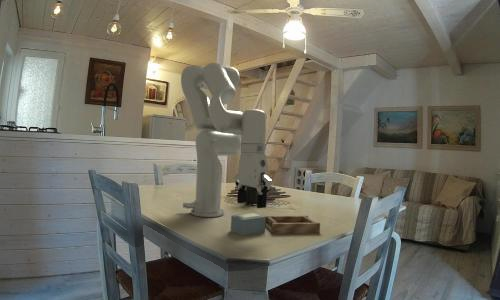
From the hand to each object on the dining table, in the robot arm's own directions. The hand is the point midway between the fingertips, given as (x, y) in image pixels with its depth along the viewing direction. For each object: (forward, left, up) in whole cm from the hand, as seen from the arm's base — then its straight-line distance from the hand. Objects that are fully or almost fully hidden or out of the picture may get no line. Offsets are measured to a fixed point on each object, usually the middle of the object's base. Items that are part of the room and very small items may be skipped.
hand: (251, 205), depth 91 cm
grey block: (0, +1, -9) cm, 9 cm away
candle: (+11, +42, -9) cm, 44 cm away
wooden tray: (+15, +3, -8) cm, 17 cm away
